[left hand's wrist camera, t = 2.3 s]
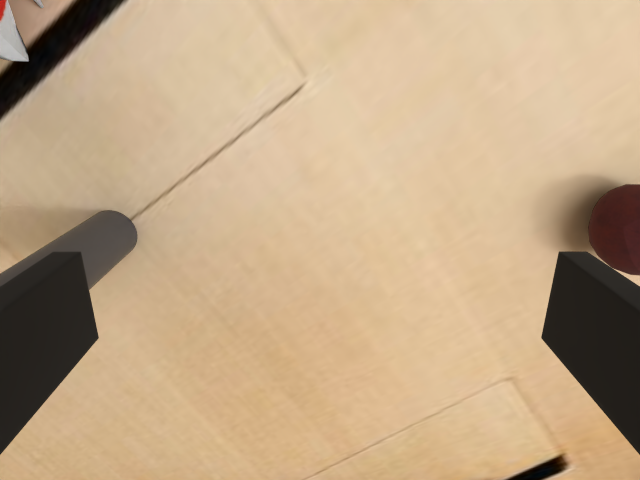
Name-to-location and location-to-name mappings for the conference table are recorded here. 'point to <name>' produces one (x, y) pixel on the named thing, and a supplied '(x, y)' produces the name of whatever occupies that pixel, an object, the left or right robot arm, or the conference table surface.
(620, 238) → the dark maroon ball
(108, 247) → the dark grey cylinder
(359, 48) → the conference table surface
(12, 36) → the fish
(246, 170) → the conference table surface
